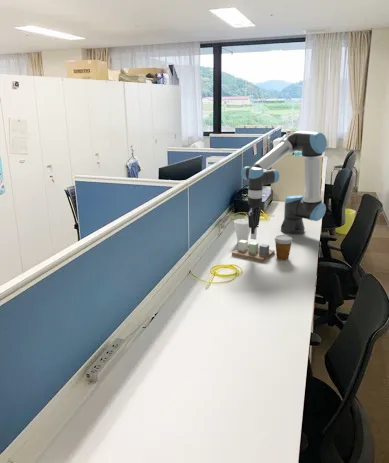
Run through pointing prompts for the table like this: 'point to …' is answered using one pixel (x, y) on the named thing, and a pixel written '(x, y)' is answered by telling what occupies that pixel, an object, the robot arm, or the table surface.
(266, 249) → the gray button
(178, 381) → the table surface
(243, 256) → the button board
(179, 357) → the table surface
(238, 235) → the cup
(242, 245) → the white block
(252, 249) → the pale green block
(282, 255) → the disposable coffee cup
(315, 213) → the robot arm
